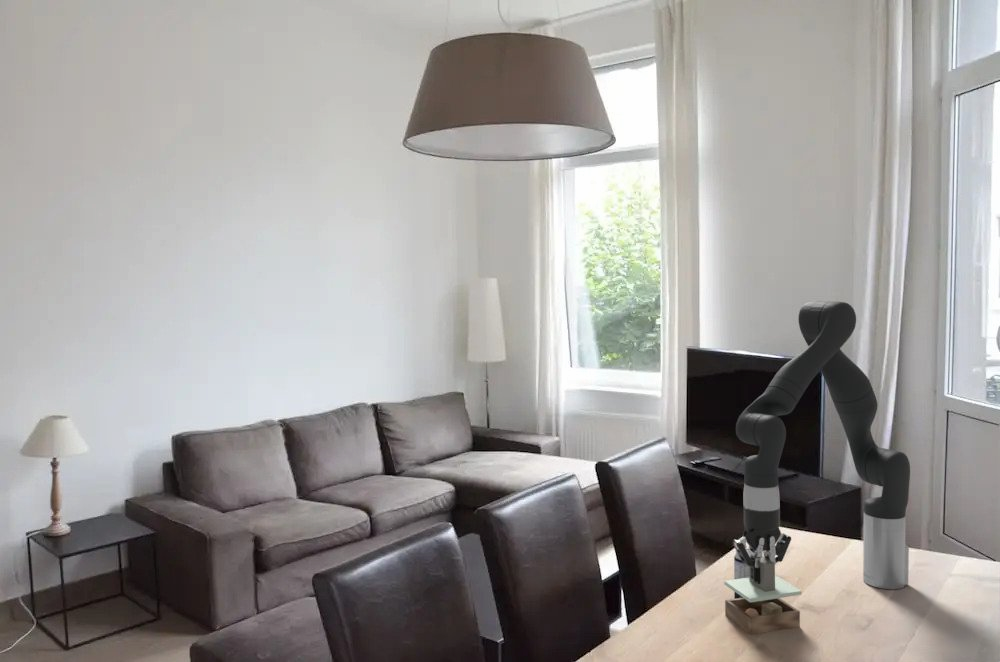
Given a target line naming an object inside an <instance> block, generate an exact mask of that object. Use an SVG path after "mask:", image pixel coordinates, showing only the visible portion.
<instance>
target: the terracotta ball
mask: <svg viewBox="0 0 1000 662" xmlns="http://www.w3.org/2000/svg"><path fill="white" fill-rule="evenodd" d="M745 613H747V614H748V615H749V616H751V617H753V616H759V614H758V612H757V611H756V610H755V609H753V608H749V609H747V610H746V611H745Z"/></svg>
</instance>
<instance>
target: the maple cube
mask: <svg viewBox="0 0 1000 662" xmlns="http://www.w3.org/2000/svg"><path fill="white" fill-rule="evenodd" d="M781 612H782V607H781V606H779V605H777V604H775V603H773V602H771V603H767V604H763V605H762V615H767V614H774V613H781Z"/></svg>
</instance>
